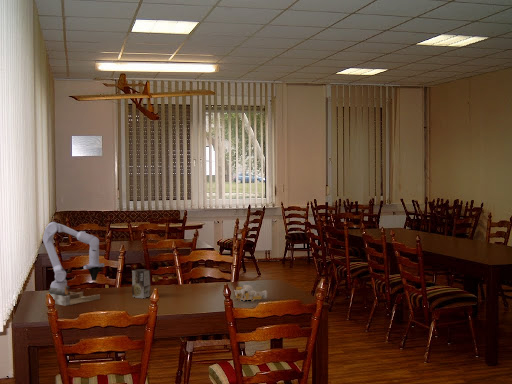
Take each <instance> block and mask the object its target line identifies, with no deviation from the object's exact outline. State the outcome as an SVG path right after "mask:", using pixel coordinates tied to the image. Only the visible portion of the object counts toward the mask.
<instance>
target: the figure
mask: <svg viewBox="0 0 512 384" xmlns="http://www.w3.org/2000/svg"><path fill="white" fill-rule="evenodd" d="M235 289H236V290H235ZM235 289H234V290H233V291H234V295H235V299H236V298H239V299H238V300H237V301H241V300H243V301H242V302H246V301H245V300H255V301H256V300H262V299H263V298H264V300H265V299H267V298H268V291H267V290H262V291H256V290H254V289H253V286H252V285H250V284H243V287H242V286H236V288H235ZM262 297H263V298H262ZM240 299H241V300H240Z"/></svg>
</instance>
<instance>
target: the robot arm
mask: <svg viewBox="0 0 512 384" xmlns="http://www.w3.org/2000/svg"><path fill="white" fill-rule="evenodd" d="M57 232H58V233H66V234H68V235H71V236H73V237H75V238H76V240H77V241H79V242H81V243H83V244H86V245H89V250H88V255H89V256H88V259H89V260H88V264H87V265H83V270H87V271H88V272H89V275H90V277H91V280H92V281H96V280H97V278H98V274H99V273H100V270H101V268H105V263H104V262H102V263H101V262H100V239H99V238H98V237H97V236H95V235H93V234H89V233H86V232H87V231H85V230H81V231H77V230H76V229H73V228H72V227H68V226H67V225H65V224H61V223H57V222H56V221H51V222H49V223H48V224H47V225H46V226H45V229H44V232H43V236H42V242H43V245H44V247H45V250H46V252H47V255H48V258H49V261H50V263H51V265H52V266H51V267H52V268H53V272H54V280H53V281H51V284H50V286H49V287H50V288H57V289H64V290H65V286H68V280H67V279H66V277H67V271H66V270H65V269H64V267H63V265H62V264H61V261H60V259H59V256H58V253H57V250H56V247H55V246H54V242H53V238H54V235H55V234H56V233H57ZM50 288H49V289H50Z"/></svg>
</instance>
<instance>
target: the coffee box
mask: <svg viewBox="0 0 512 384" xmlns="http://www.w3.org/2000/svg"><path fill="white" fill-rule="evenodd" d="M131 272H132V273H131V275H132V277H131V278H132V280H131V282H132V284H131V287H132V289H131V290H132V293H131V294H132V295H131V296H132V298H134V297H135V298H137V299H143V298H144V299H147V298H146V297H149V296H150V297H151V269H141V268H138V269H134V270H131ZM150 297H149V298H150ZM135 298H134V299H135Z"/></svg>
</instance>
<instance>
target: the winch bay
mask: <svg viewBox="0 0 512 384" xmlns="http://www.w3.org/2000/svg"><path fill="white" fill-rule="evenodd" d="M69 290H70V286H68V285H67V286H65V290H64V289H57V288H49V289H48V292H47V293H46V295H47V294H50V295H51V296H52V297H53V299H54V300H55V305H59V306H64V307H66V306H70V305H75V304H80V303H87V302H92V301H98V300H101V294H93V295H87V296H84V291H79V292H77V293H81V298H76V299H71V300H70V296H69V295H67V294H68V292H69Z"/></svg>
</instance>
